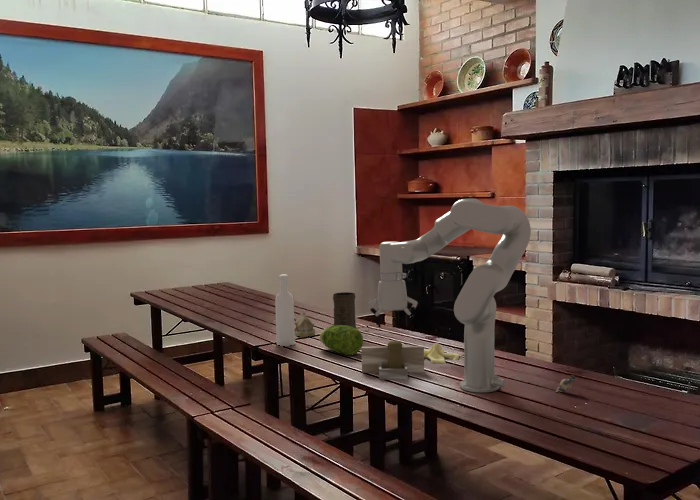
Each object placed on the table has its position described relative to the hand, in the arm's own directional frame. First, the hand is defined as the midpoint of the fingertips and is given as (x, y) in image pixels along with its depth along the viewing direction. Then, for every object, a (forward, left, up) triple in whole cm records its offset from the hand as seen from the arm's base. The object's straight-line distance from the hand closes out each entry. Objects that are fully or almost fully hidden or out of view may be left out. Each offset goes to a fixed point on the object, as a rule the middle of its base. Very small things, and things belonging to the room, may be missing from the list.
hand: (393, 326), depth 223 cm
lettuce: (+37, -15, -18) cm, 44 cm away
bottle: (+65, -13, -18) cm, 69 cm away
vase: (-56, -13, -18) cm, 60 cm away
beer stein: (+54, -40, -18) cm, 70 cm away
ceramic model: (+73, -34, -18) cm, 82 cm away
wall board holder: (0, +1, -17) cm, 17 cm away
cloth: (+1, -28, -18) cm, 34 cm away
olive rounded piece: (0, 0, -17) cm, 17 cm away
